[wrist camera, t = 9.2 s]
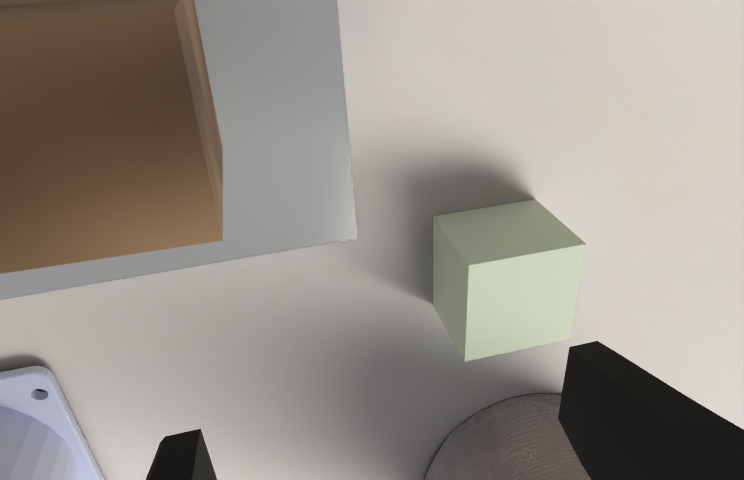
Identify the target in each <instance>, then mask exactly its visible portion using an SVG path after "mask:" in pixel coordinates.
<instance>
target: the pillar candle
mask: <svg viewBox="0 0 744 480" xmlns="http://www.w3.org/2000/svg"><path fill="white" fill-rule="evenodd" d="M560 403H561V395H558V394H544V393H543V394H531V395H525V396H520V397H514V398H510V399H508V400H505V401H502V402H500V403H497V404H494V405H492V406H491V407H489V408H487V409H484V410H481V411H479V412H478V413H476V414H474V415H473V416H471V417H470V418H469V419H468V420H467V421H465V422H463V423H461V424H460V425H458V426H457V427H456V428H455V429H454V430H453V431H452V432H451V433H450V434H449V435H448V437H447V438H446V439H445V441H444V442H443V444H442V446H441V448H440V450H439V451H438V453H437V455H436V456H435V458H434V460H433V461H432V463H431V465H430V468H429V470H428V472H427V474H426V476H425V480H591V478H590V477H589V475H588V474H587V472H586V471H585V469H584V468H583V466H582V464H581V462H580V461H579V459H578V457H577V455H576V453H575V451H574V449H573V447H572V446H571V444H570V442H569V440H568V438H567V436H566V434H565V432H564V430H563V428H562V426H561V424H560V422H559V420H558V415H559V409H560Z"/></svg>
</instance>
